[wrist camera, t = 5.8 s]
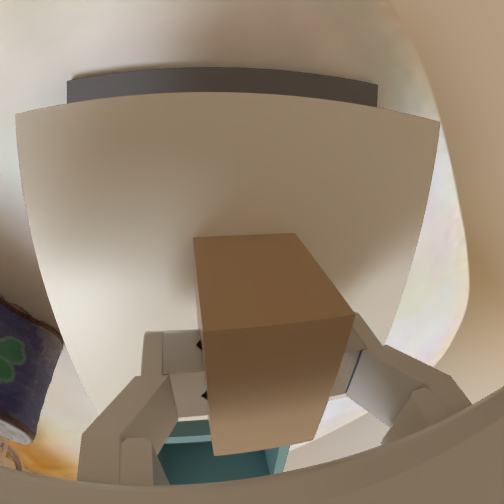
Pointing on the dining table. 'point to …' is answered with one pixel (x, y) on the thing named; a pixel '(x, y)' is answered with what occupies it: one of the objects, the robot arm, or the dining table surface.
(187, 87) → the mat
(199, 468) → the teal open box
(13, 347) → the flask
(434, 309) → the dining table surface
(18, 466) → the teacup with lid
